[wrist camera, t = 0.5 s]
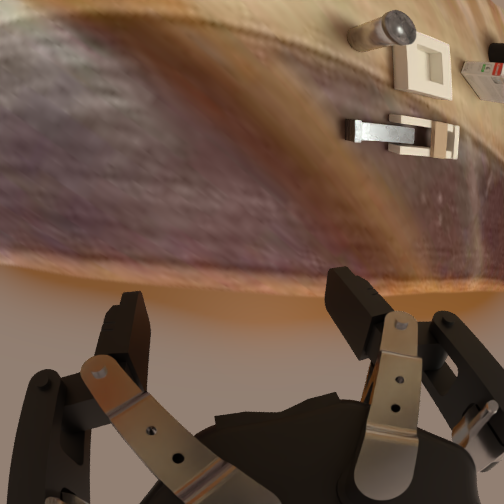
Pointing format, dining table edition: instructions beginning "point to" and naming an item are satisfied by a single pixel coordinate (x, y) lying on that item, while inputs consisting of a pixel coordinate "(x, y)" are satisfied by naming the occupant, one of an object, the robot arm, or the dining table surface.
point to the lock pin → (377, 132)
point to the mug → (496, 52)
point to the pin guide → (441, 138)
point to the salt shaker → (383, 32)
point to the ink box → (485, 79)
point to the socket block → (423, 67)
